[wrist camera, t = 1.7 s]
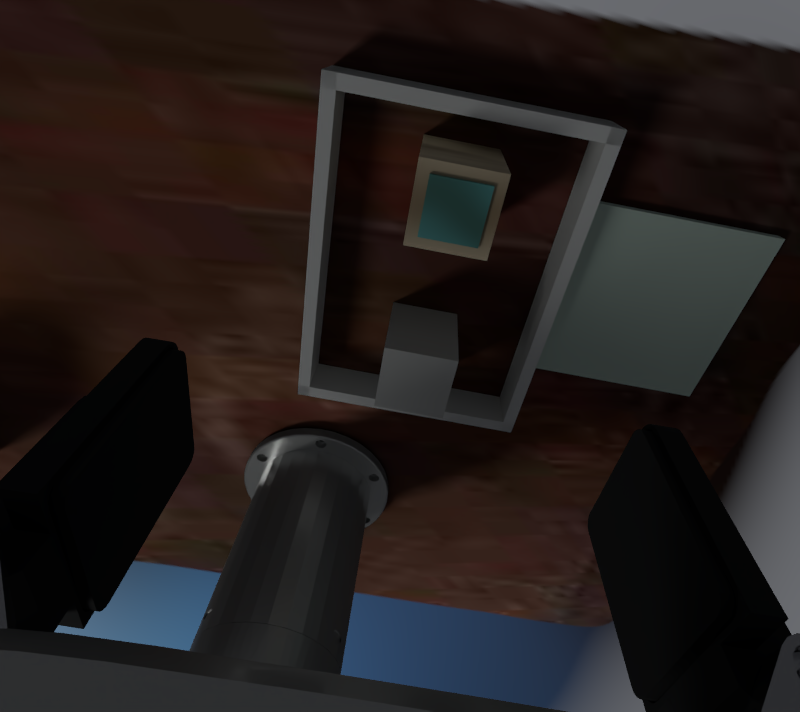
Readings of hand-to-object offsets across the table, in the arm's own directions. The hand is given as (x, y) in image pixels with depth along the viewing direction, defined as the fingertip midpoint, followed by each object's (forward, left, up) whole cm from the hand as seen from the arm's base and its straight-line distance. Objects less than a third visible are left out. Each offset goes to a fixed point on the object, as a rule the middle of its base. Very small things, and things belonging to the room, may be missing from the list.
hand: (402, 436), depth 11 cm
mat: (-6, -15, -24) cm, 29 cm away
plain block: (-11, -1, -24) cm, 26 cm away
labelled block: (0, -1, -24) cm, 24 cm away
